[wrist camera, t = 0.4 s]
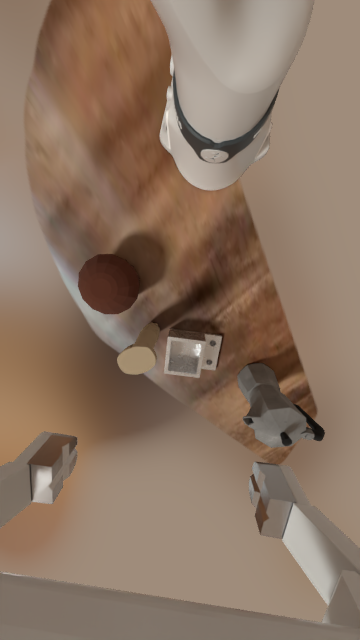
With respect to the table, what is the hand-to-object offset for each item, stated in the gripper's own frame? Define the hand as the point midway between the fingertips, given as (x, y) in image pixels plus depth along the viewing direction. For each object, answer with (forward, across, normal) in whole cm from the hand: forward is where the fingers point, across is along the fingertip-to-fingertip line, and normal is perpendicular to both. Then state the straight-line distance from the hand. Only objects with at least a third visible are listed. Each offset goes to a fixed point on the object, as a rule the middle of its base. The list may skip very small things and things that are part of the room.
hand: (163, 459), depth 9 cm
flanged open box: (+39, -3, +9) cm, 40 cm away
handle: (+38, +7, +4) cm, 39 cm away
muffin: (+37, +15, -6) cm, 40 cm away
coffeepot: (+40, -20, +15) cm, 47 cm away
